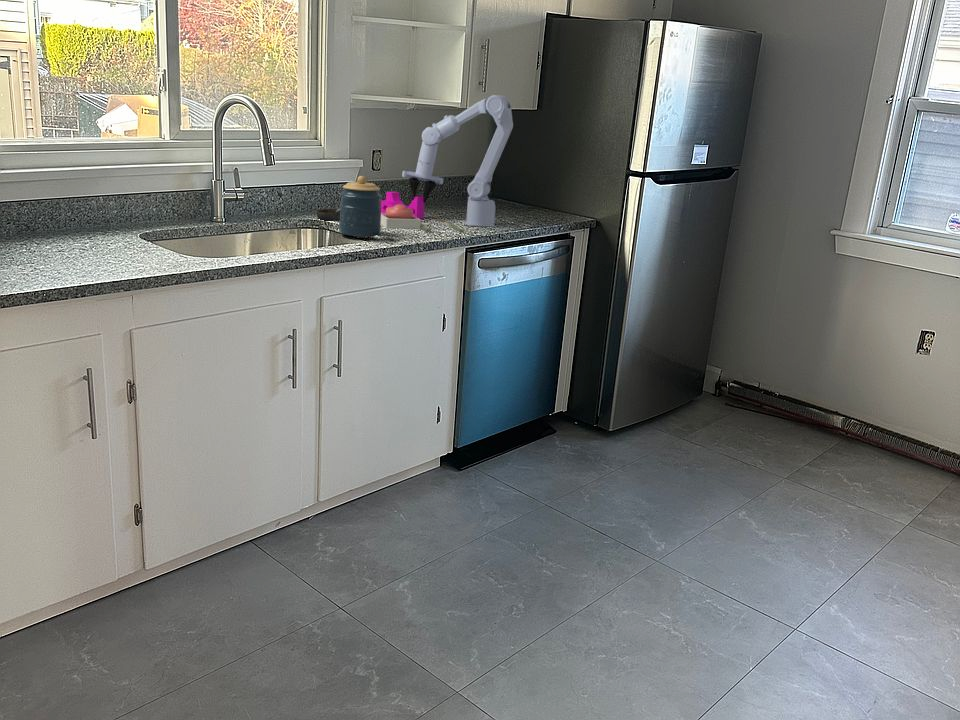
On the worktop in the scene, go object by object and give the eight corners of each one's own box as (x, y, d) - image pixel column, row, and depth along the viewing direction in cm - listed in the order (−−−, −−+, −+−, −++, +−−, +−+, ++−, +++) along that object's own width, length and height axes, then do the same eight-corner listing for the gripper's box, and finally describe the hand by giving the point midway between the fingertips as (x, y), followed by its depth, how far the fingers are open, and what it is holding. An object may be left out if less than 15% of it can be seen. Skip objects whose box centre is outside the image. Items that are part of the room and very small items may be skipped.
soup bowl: (356, 225, 307) (357, 204, 305) (350, 232, 291) (350, 209, 289) (314, 222, 307) (314, 200, 304) (305, 228, 291) (305, 206, 289)
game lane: (433, 217, 321) (433, 214, 321) (463, 232, 291) (464, 230, 291) (398, 216, 317) (398, 213, 317) (426, 231, 287) (426, 229, 286)
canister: (345, 237, 265) (347, 177, 260) (333, 230, 276) (335, 172, 271) (386, 237, 270) (389, 179, 265) (373, 230, 281) (375, 174, 276)
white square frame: (410, 223, 302) (411, 214, 302) (420, 228, 292) (420, 219, 291) (377, 222, 298) (378, 213, 297) (386, 227, 288) (386, 218, 287)
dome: (408, 220, 300) (409, 203, 299) (415, 224, 292) (416, 206, 291) (382, 220, 297) (383, 202, 296) (389, 224, 289) (390, 206, 288)
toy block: (380, 213, 315) (381, 192, 313) (392, 212, 320) (393, 191, 318) (411, 219, 306) (412, 197, 304) (423, 218, 311) (424, 196, 309)
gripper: (442, 164, 311) (434, 201, 315) (403, 156, 306) (395, 194, 310) (448, 167, 305) (439, 206, 309) (408, 160, 299) (400, 199, 304)
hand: (417, 200), depth 309 cm, fingers closed on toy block, 4 cm apart
